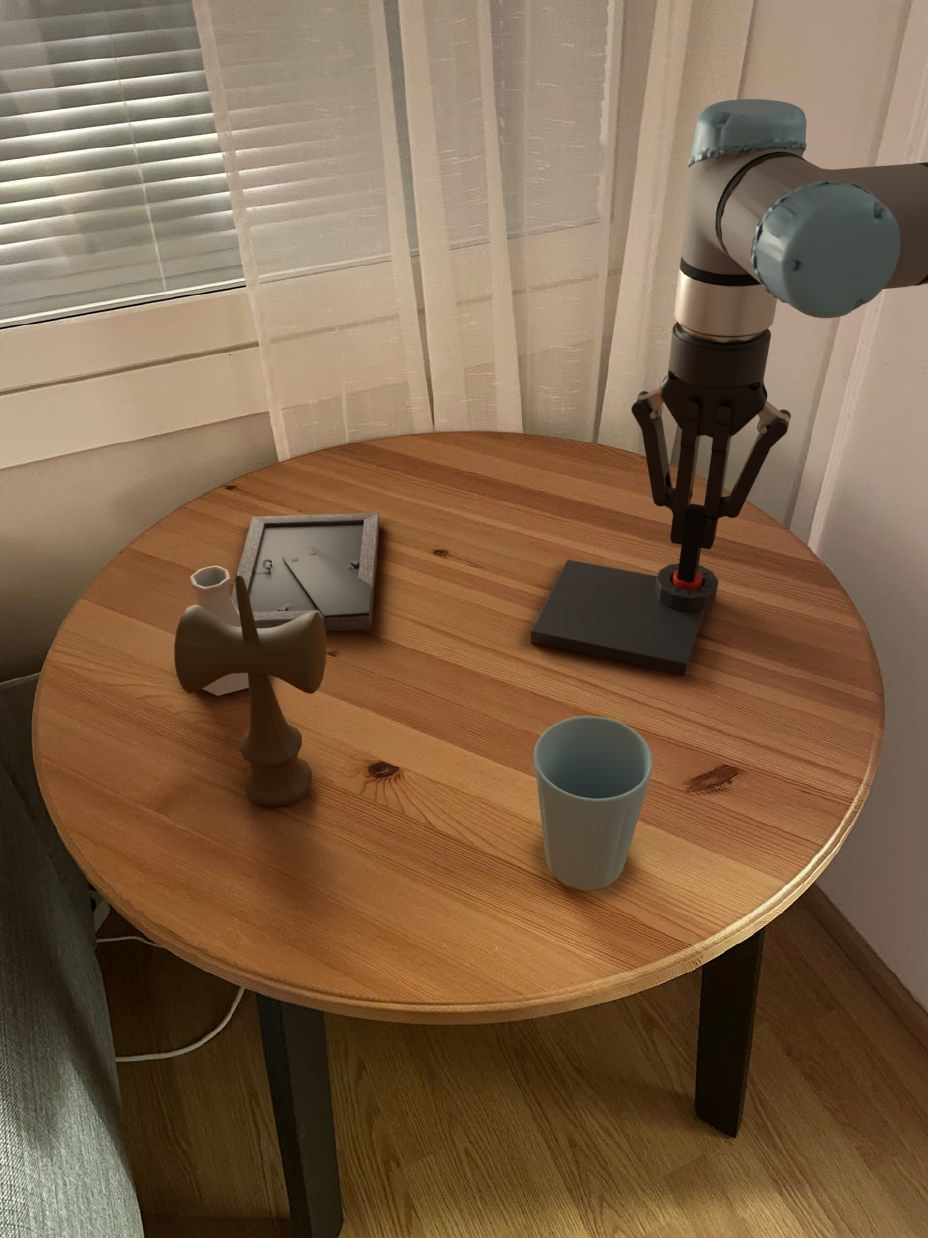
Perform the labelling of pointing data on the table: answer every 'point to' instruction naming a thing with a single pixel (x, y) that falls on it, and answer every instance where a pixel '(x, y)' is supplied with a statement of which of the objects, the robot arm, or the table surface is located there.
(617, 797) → the cup
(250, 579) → the picture frame
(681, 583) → the button
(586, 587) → the scale
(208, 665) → the kendama
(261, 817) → the table surface
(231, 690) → the flask
